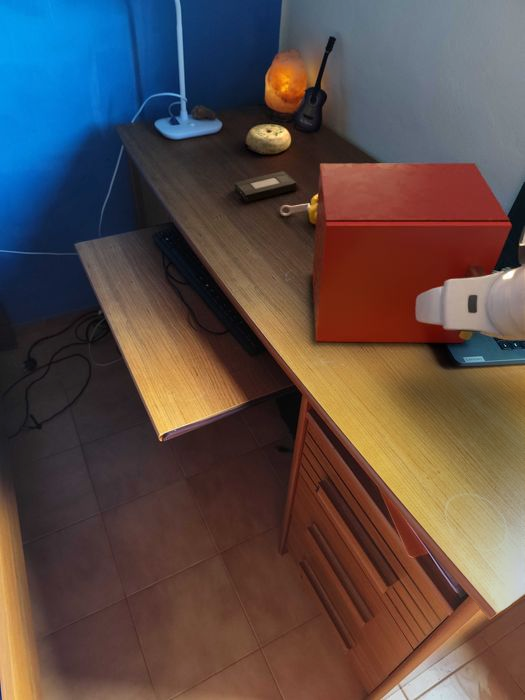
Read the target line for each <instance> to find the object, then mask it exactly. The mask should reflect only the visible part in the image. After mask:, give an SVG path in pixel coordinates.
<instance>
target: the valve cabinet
mask: <svg viewBox="0 0 525 700" xmlns="http://www.w3.org/2000/svg"><path fill="white" fill-rule="evenodd" d="M318 172H319V174H318V175H319V176H318V187H317V189H318V190H317V195H318V201H317V216H316V225H315V231H314V245H313V246H314V247H313V261H312V274H311V275H312V276H311V277H312V279H311V280H312V295H313V311H314V329H315V330H314V331H315V333H316V332H317V320H318V309H319V297H320V286H321V274H322V262H323V251H324V239H325V228H326V222H510V217H508V215H507V214H506V212H505V210H504V208H503V207H502V205H501V204H500V202H499V200H498V199H497V198H496V196H495V193H494V192H493V191H492V189H491V187H490V185H489V184H488V182H487V181H486V179H485V177H484V176H483V174H482V173H481V171H480V169H479V168H478V166H477V165H476V163H475V162H453V163H452V162H446V163H445V162H442V163H441V162H437V163H436V162H433V163H432V162H431V163H430V162H429V163H421V162H418V163H417V162H416V163H410V162H409V163H320V164H319V171H318Z"/></svg>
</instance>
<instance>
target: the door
mask: <svg viewBox="0 0 525 700" xmlns="http://www.w3.org/2000/svg"><path fill="white" fill-rule="evenodd" d="M512 227H513V224H512V223H511V222H510V221H509V222H326V228H325V239H324V251H323V262H322V274H321V286H320V297H319V309H318V320H317V332H316V331H315V341H316V342H324V343H325V342H326V343H328V342H331V343H332V342H334V343H340V342H341V343H343V342H344V343H414V344H415V343H419V344H421V343H422V344H424V343H427V344H463V343H464V342H465V341H467V340H470V339H471V338H472V337H473V334H474V333H473V332H465V331H453V330H445V329H444V328H443V325H435V324H428V323H423V322H419V321H417V320H416V309H415V308H416V298H417V296H418V295H420V294H421V293H423V292H426V291H428V290H431V289H433V288H437V287H442V286H444V282H445V281H447V280H449V279H457V278H468V277H478V276H488V275H491V274H493V272H494V270H495V267H496V266H497V262H498V260H499V257H500V256H501V253H502V251H503V248H504V246H505V243H506V241H507V239H508V236H509V233H510V231H511V230H512Z"/></svg>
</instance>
